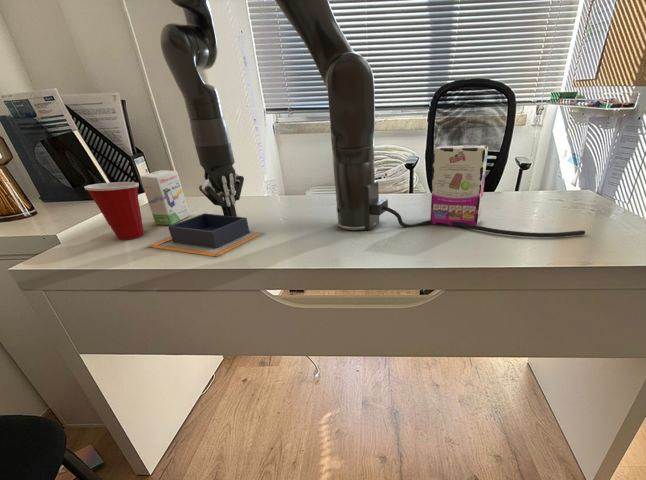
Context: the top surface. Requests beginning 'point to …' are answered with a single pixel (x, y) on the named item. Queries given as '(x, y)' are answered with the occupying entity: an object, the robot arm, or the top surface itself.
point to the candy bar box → (458, 184)
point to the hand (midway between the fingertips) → (231, 221)
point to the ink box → (165, 197)
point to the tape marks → (199, 251)
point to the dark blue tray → (209, 230)
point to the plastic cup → (119, 207)
